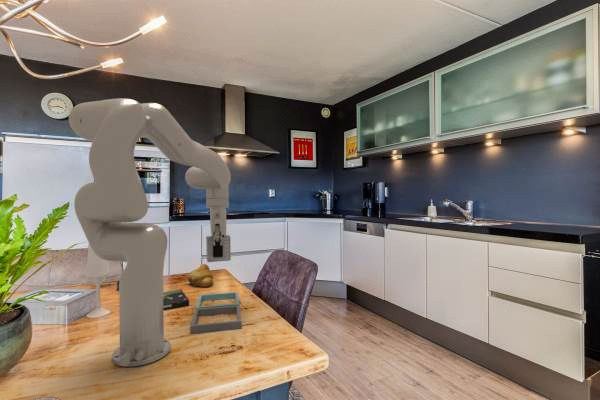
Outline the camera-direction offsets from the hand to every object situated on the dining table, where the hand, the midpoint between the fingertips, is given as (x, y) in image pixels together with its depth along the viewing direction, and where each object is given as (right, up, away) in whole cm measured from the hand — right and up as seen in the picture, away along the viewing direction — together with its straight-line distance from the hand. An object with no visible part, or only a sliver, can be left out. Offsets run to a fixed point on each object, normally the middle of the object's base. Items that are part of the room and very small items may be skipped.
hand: (218, 255), depth 109 cm
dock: (+1, -18, -7) cm, 19 cm away
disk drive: (-18, -19, +4) cm, 26 cm away
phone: (-46, -18, +26) cm, 56 cm away
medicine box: (0, -2, 0) cm, 2 cm away
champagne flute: (-37, -18, -7) cm, 42 cm away
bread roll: (-14, -18, +27) cm, 35 cm away
